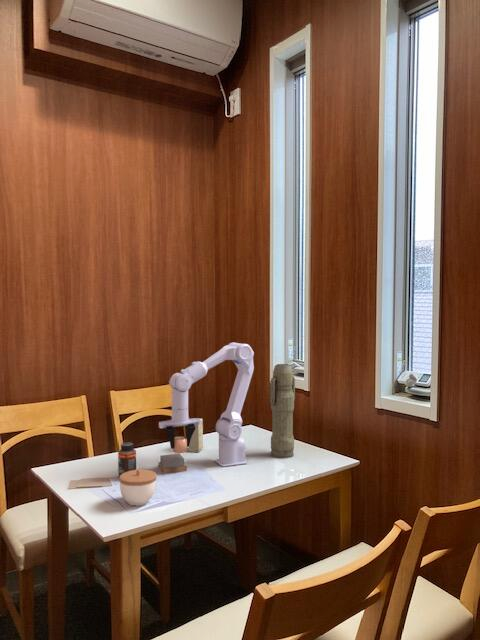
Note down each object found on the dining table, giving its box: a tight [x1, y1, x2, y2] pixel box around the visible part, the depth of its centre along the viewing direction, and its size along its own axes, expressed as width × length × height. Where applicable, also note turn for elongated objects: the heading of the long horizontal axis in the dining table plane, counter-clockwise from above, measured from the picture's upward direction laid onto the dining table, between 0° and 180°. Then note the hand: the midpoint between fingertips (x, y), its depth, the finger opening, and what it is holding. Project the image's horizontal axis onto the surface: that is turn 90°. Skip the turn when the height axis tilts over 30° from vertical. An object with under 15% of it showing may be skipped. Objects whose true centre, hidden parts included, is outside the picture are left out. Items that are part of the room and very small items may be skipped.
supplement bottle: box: [117, 442, 137, 478], centre depth 166 cm, size 6×6×11 cm
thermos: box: [269, 363, 296, 459], centre depth 192 cm, size 9×12×35 cm
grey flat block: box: [159, 453, 185, 468], centre depth 174 cm, size 7×7×2 cm
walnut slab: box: [157, 461, 188, 475], centre depth 175 cm, size 8×8×2 cm
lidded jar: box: [118, 468, 158, 506], centre depth 146 cm, size 11×11×9 cm
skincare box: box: [188, 417, 204, 453], centre depth 198 cm, size 6×4×12 cm
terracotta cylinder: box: [172, 436, 188, 454], centre depth 172 cm, size 5×5×4 cm
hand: (179, 446), depth 173 cm, fingers closed on terracotta cylinder, 5 cm apart
